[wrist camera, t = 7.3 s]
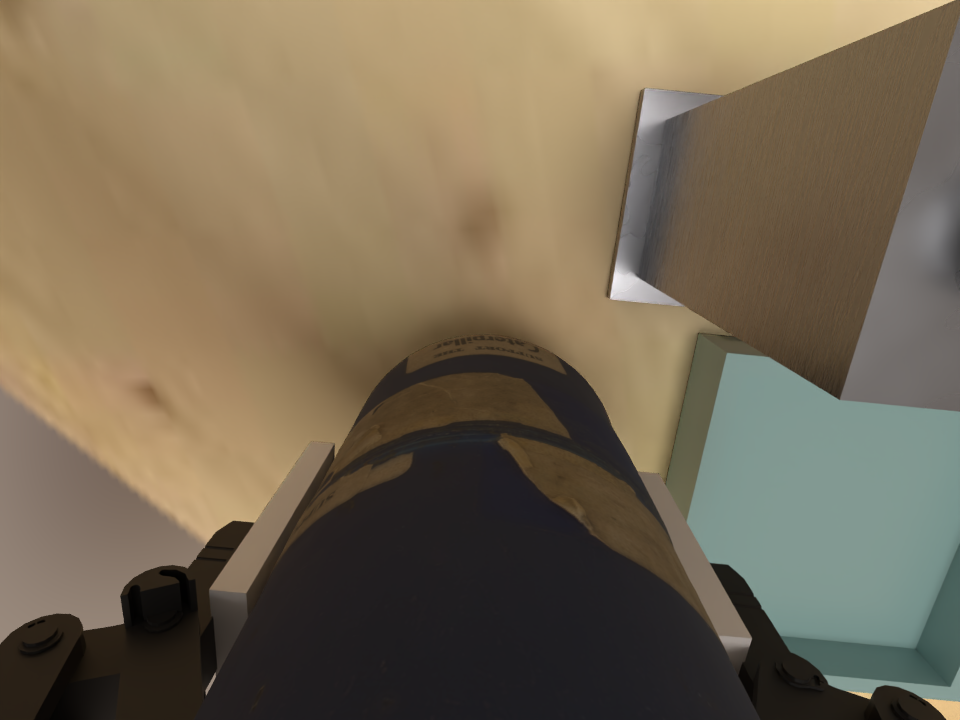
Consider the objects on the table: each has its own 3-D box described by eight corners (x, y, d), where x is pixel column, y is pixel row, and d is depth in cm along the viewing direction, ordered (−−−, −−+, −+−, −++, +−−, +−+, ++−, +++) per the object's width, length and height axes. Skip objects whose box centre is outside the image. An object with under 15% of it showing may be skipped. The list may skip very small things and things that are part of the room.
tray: (634, 623, 28) (650, 672, 25) (698, 333, 24) (726, 353, 21) (914, 650, 28) (961, 701, 25) (1033, 365, 24) (1107, 389, 21)
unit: (607, 296, 23) (804, 482, 8) (640, 90, 21) (998, -154, 6) (862, 321, 23) (1505, 549, 8) (926, 118, 21) (1972, -56, 6)
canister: (334, 345, 20) (-588, 1333, 3) (593, 300, 19) (1387, 1269, 2) (394, 559, 23) (111, 1671, 6) (620, 528, 22) (1047, 1690, 5)
